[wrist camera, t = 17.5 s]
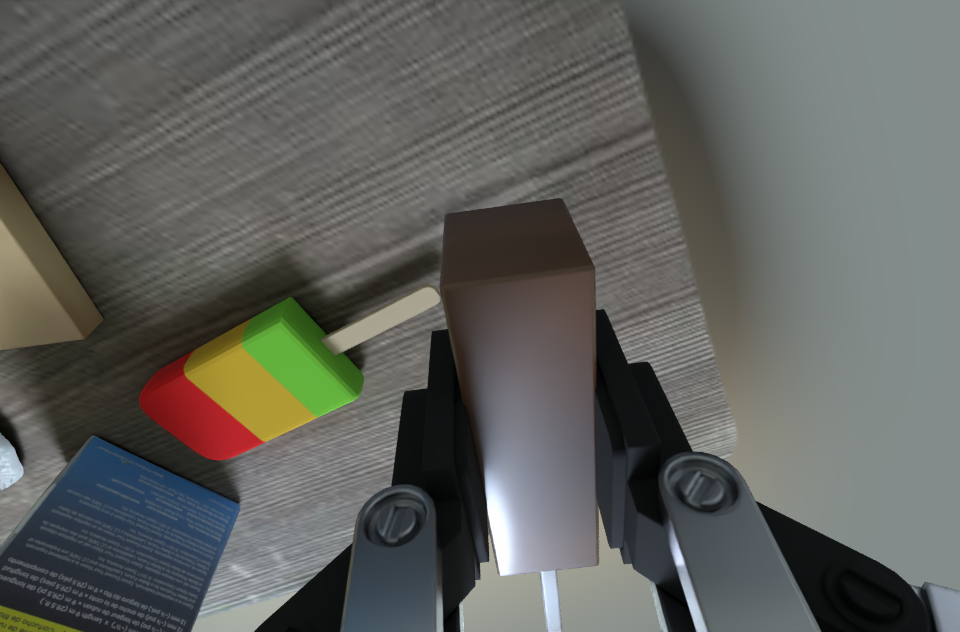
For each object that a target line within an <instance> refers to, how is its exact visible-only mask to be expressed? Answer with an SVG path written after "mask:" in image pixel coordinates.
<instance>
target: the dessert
mask: <svg viewBox="0 0 960 632" xmlns="http://www.w3.org/2000/svg"><path fill="white" fill-rule="evenodd" d="M23 473H24V472H23V467H22V465H21V463H20V461H19V458H18V457H17V455H16V453H15V448H14V447H13V446H12V445H10V442H9V441H8V440H7V439H5V437H4V436H2V435H1V433H0V489H1V490H2V489H4V488H7V487H9V486H11V485H12V484H13V483H15V482H16V481H17V480H19V479H20V478H21V477H22V476H23Z"/></svg>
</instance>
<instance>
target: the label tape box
mask: <svg viewBox="0 0 960 632" xmlns="http://www.w3.org/2000/svg"><path fill="white" fill-rule="evenodd" d="M239 511H240V505H239V504H238V503H236V502H234V501H232V500H230V499H228V498H225V497H223V496H221V495H219V494H217V493H215V492H213V491H211V490H208V489H206V488H204V487H202V486H200V485H197V484H195V483H193V482H191V481H189V480H186V479H184V478H182V477H179V476H177V475H175V474H172V473H170V472H168V471H166V470H164V469H162V468H160V467H158V466H156V465H154V464H152V463H150V462H148V461H145V460H143V459H141V458H139V457H137V456H135V455H133V454H131V453H129V452H127V451H125V450H123V449H120V448H118V447H116V446H114V445H112V444H110V443H108V442H106V441H104V440H102V439H100V438H98V437H96V436H91V437H90V438H89V439H88V440H87V441H86V443H85V444H84V445H83V446H82V447H81V449H80V450H79V451H78V452H77V453H76V454H75V456H74V457H73V458H72V459H71V460H70V462H69V463H68V464H67V465H66V466H65V468H64V469H63V470H62V471H61V472H60V474H59V475H58V476H57V477H56V478H55V480H54V481H53V482H52V483H51V484H50V486H49V487H48V488H47V489H46V491H45V492H44V493H43V494H42V495H41V497H40V498H39V499H38V500H37V502H36V503H35V504H34V505H33V507H32V508H31V509H30V510H29V512H28V513H27V514H26V515H25V517H24V518H23V519H22V520H21V522H20V523H19V524H18V525H17V526H16V528H15V529H14V530H13V532H12V533H11V534H10V535H9V537H8V538H7V539H6V541H5V542H4V543H3V544H2V546H1V547H0V632H191V631H192V628H193V625H194V623H195V621H196V619H197V616H198V613H199V611H200V608H201V606H202V603H203V601H204V599H205V596H206V594H207V591H208V589H209V586H210V584H211V581H212V579H213V577H214V574H215V571H216V569H217V567H218V564H219V561H220V559H221V556H222V554H223V551H224V549H225V546H226V544H227V541H228V539H229V536H230V534H231V531H232V529H233V526H234V524H235V521H236V519H237V516H238V513H239Z"/></svg>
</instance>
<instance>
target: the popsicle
mask: <svg viewBox="0 0 960 632" xmlns="http://www.w3.org/2000/svg"><path fill="white" fill-rule="evenodd" d="M439 301H440V293H439V291H438V290H437V289H436V287H435V286H433V285H431V284H425V285H423V286H421V287H419V288H417V289H415V290H413V291H411V292H409V293H407V294H405V295H403V296H402V297H400V298H398V299H396V300H394V301H392V302H390V303H388V304H386V305H384V306H382V307H380V308H378V309H377V310H375V311H373V312H371V313H369V314H367V315H365V316H363V317H361V318H359V319H357V320H355V321H353V322H351V323H350V324H348V325H346V326H344V327H342V328H340V329H338V330H336V331H334V332H332V333H330V334H328V335H326V334H325V332H324V331H323V330H322V329H321V328H320V327H319V326H318V325H317V324H316V323H315V322H314V321H313V319H312V318H311V317H310V316H309V315H308V314H307V313H306V312H305V311H304V310H303V309H302V308H301V307H300V305H299V304H298V303H297V302H296V301H295V300H294V299H293V298H292V297H289V298H287V299H285V300H284V301H282V302H280V303H278V304H276V305H275V306H273V307H271V308H269V309H267V310H266V311H264V312H262V313H260V314H258V315H257V316H255V317H253V318H251V319H249V320H248V321H246V322H244V323H242V324H240V325H239V326H237V327H235V328H233V329H231V330H230V331H228V332H226V333H224V334H222V335H221V336H219V337H217V338H215V339H213V340H212V341H210V342H208V343H206V344H204V345H203V346H201V347H199V348H197V349H195V350H194V351H192V352H190V353H188V354H186V355H185V356H183V357H181V358H179V359H177V360H176V361H174V362H172V363H170V364H168V365H167V366H165V367H163V368H161V369H160V370H159V371H157V372H156V373H155V374H154V375H153V376H152V377H151V378H150V379H149V381H148V382H147V383H146V385H145V386H144V388H143V390H142V392H141V393H140V395H139V405H140V407H141V408H142V410H143V411H144V413H146V414H147V415H148V416H149V417H150V418H151V419H152V420H154V421H155V422H156V423H158V424H159V425H160V426H162V427H163V428H164V429H166V430H167V431H168V432H170V433H171V434H172V435H174V436H175V437H176V438H178V439H179V440H180V441H182V442H183V443H184V444H186V445H187V446H188V447H190V448H191V449H192V450H193V451H195V452H197V453H198V454H200V455H201V456H203V457H206V458H208V459H212V460H225V459H229V458H232V457H235V456H237V455H239V454H241V453H243V452H246V451H248V450H250V449H252V448H254V447H256V446H258V445H260V444H263V443H265V442H267V441H269V440H271V439H273V438H275V437H277V436H280V435H282V434H284V433H286V432H288V431H290V430H292V429H294V428H297V427H299V426H301V425H303V424H305V423H307V422H309V421H311V420H314V419H316V418H318V417H320V416H322V415H324V414H326V413H328V412H331V411H333V410H335V409H337V408H339V407H341V406H343V405H345V404H348V403H350V402H352V401H354V400H355V399H357V398H358V397H359V395H360V393H361V390H362V386H363V381H364V377H363V374H362V373H361V371H360V370H359V369H358V368H357V367H356V366H355V365H354V364H353V363H352V362H351V360H350V359H349V358H348V357H347V356H346V355H345V354H344V353H343V352H344V351H346V350H348V349H350V348H352V347H354V346H356V345H358V344H360V343H362V342H364V341H366V340H368V339H370V338H372V337H374V336H375V335H377V334H379V333H381V332H383V331H385V330H387V329H389V328H391V327H393V326H395V325H397V324H399V323H401V322H403V321H405V320H407V319H409V318H411V317H413V316H415V315H417V314H419V313H421V312H423V311H425V310H427V309H429V308H431V307H433V306H435V305H437V304H438V303H439Z"/></svg>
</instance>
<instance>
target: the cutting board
mask: <svg viewBox="0 0 960 632" xmlns="http://www.w3.org/2000/svg"><path fill="white" fill-rule="evenodd" d="M103 321H104V319H103V317H102V316H101V314H100V313H99V311H98V310H97V308H96V306H95V305H94V303H93V302H92V300H91V299H90V297H89V296H88V294H87V293H86V291H85V290H84V288H83V287H82V285H81V284H80V282H79V281H78V279H77V278H76V276H75V275H74V273H73V272H72V270H71V269H70V267H69V266H68V264H67V263H66V261H65V260H64V258H63V257H62V255H61V253H60V252H59V250H58V249H57V247H56V246H55V244H54V243H53V241H52V240H51V238H50V237H49V235H48V234H47V232H46V231H45V229H44V228H43V226H42V225H41V223H40V222H39V220H38V219H37V217H36V216H35V214H34V213H33V211H32V210H31V208H30V207H29V205H28V204H27V202H26V201H25V199H24V197H23V196H22V194H21V193H20V191H19V190H18V188H17V187H16V185H15V184H14V182H13V181H12V179H11V178H10V176H9V175H8V173H7V172H6V170H5V169H4V167H3V166H2V164H1V163H0V350H5V349H13V348H21V347H29V346H36V345H44V344H52V343H60V342H67V341H75V340H83V339H85V338H86V337H87V336H88V335H89V334H90V333H91V332H92V331H93V330H94V329H95V328H96V327H97V326H98V325H99V324H100V323H102V322H103Z"/></svg>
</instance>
